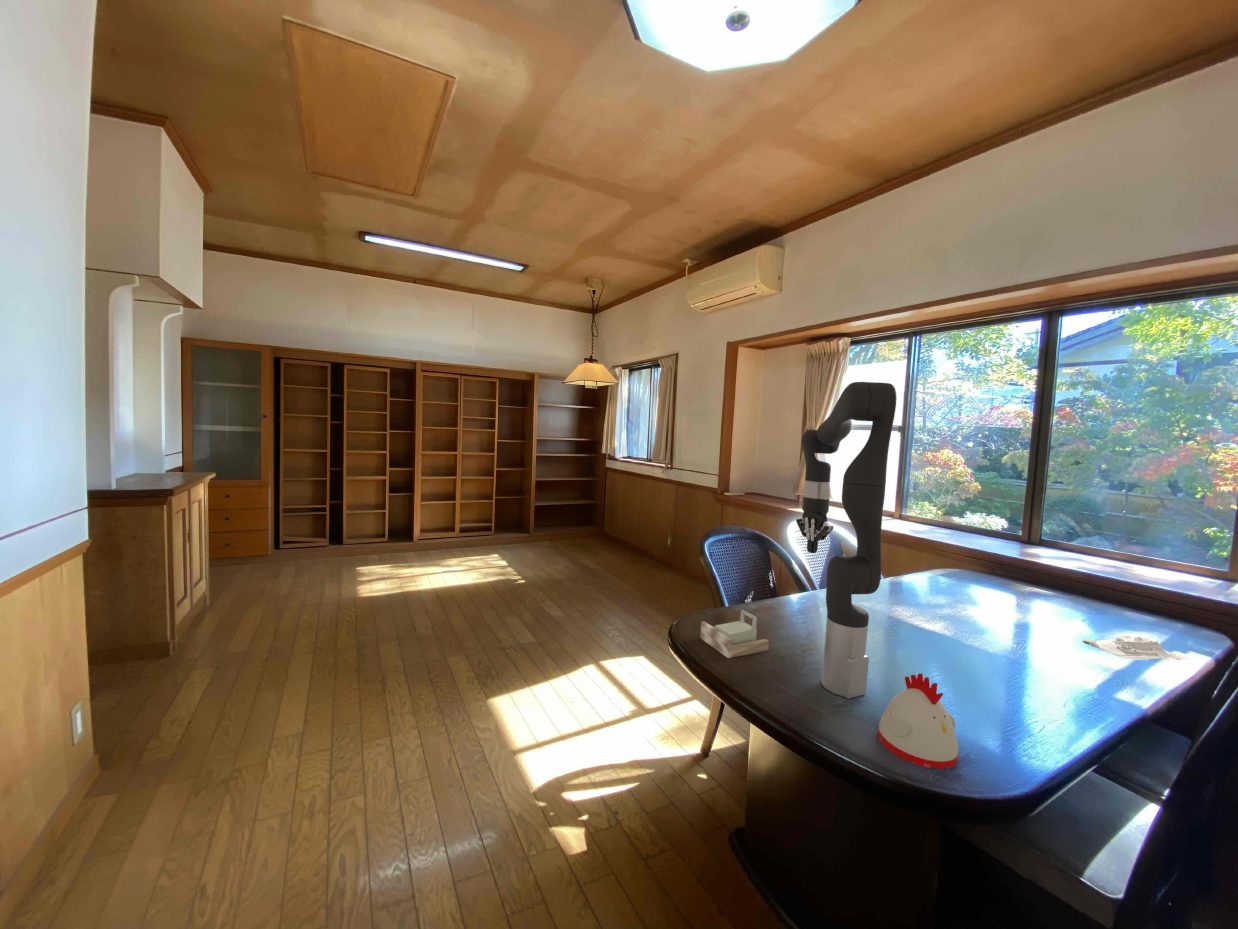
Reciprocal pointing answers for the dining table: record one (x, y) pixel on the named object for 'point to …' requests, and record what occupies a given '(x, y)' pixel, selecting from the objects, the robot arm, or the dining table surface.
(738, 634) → the sage trolley
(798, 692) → the dining table surface
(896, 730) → the kitchen timer
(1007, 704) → the dining table surface
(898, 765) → the dining table surface
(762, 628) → the dining table surface
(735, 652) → the birch bay
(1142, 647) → the terrain model
